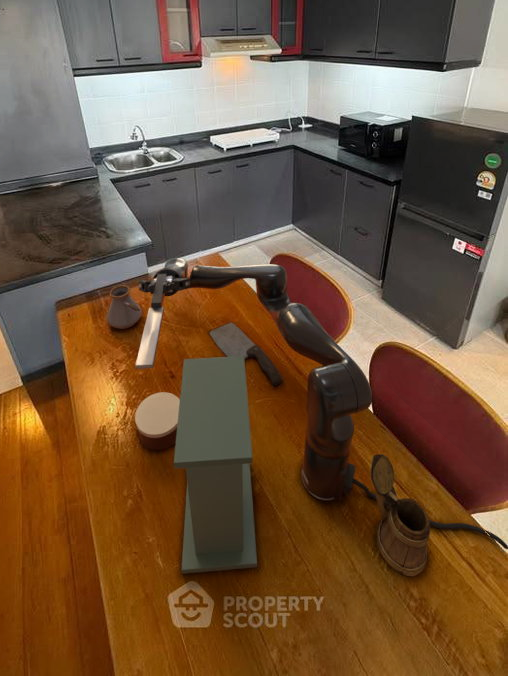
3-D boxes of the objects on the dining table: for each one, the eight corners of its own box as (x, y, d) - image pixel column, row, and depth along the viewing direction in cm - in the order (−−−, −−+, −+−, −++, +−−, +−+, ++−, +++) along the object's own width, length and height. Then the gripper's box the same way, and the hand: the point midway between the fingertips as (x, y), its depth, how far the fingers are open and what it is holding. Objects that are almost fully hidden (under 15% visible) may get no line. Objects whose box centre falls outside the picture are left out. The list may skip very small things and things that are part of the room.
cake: (192, 417, 98) (191, 401, 96) (167, 459, 89) (164, 442, 86) (156, 402, 103) (154, 386, 100) (128, 439, 93) (125, 423, 91)
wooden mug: (373, 491, 83) (386, 438, 75) (434, 549, 74) (457, 496, 66) (348, 522, 78) (360, 469, 70) (411, 589, 68) (432, 537, 61)
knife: (156, 281, 95) (155, 274, 94) (169, 280, 95) (168, 273, 94) (135, 369, 71) (134, 360, 70) (153, 368, 71) (151, 359, 70)
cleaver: (289, 379, 109) (289, 374, 108) (262, 397, 104) (262, 391, 103) (230, 322, 130) (230, 317, 130) (206, 335, 125) (206, 330, 124)
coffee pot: (102, 319, 132) (95, 284, 125) (134, 305, 138) (128, 271, 132) (127, 356, 117) (120, 319, 110) (161, 339, 123) (156, 302, 117)
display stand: (189, 458, 89) (178, 359, 75) (248, 454, 90) (249, 355, 76) (182, 574, 70) (166, 470, 56) (257, 567, 71) (259, 463, 57)
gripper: (143, 267, 105) (127, 274, 88) (193, 265, 106) (188, 271, 89) (144, 295, 105) (128, 307, 87) (194, 293, 105) (188, 304, 88)
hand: (158, 289), depth 88 cm, fingers closed on knife, 2 cm apart
